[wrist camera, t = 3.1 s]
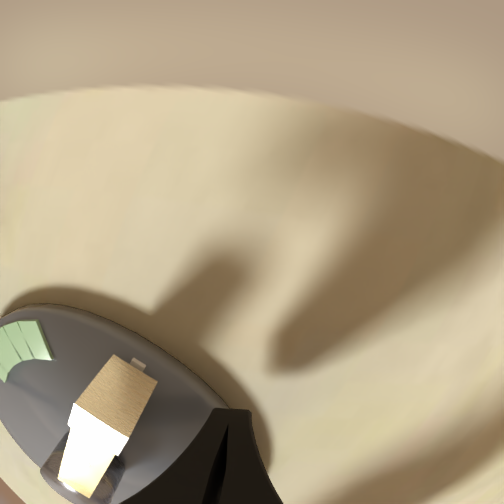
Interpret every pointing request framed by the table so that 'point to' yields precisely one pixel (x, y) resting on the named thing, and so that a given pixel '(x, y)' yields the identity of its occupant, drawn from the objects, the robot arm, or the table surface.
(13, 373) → the dial plate
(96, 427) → the peg lever
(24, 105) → the table surface
